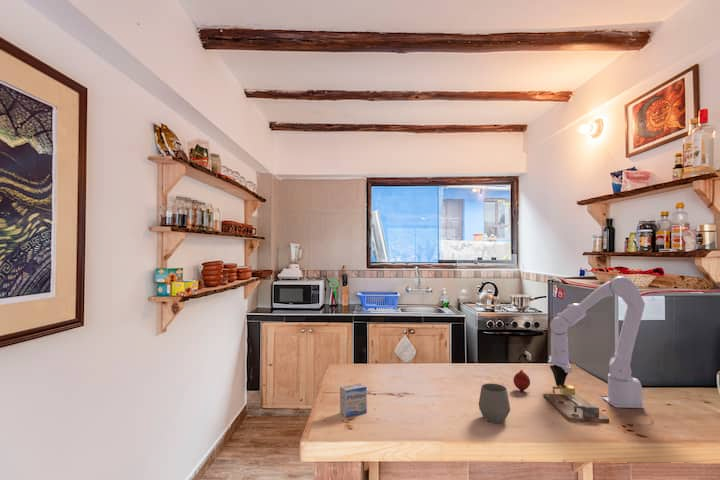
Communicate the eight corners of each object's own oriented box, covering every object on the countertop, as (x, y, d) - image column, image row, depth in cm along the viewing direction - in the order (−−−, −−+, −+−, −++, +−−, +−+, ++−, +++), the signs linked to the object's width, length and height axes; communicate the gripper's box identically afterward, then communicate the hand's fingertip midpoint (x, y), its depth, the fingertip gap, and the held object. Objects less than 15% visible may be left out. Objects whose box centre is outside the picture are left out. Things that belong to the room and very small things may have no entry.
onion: (531, 394, 143) (531, 372, 143) (515, 393, 144) (515, 371, 145) (528, 388, 149) (528, 367, 149) (512, 387, 150) (512, 366, 150)
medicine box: (345, 418, 124) (345, 390, 124) (339, 412, 128) (339, 386, 128) (367, 413, 128) (367, 386, 128) (360, 408, 132) (360, 382, 132)
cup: (506, 428, 116) (506, 395, 117) (475, 421, 121) (475, 389, 122) (512, 417, 124) (512, 385, 125) (483, 410, 129) (482, 380, 130)
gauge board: (577, 397, 140) (577, 386, 141) (609, 422, 120) (609, 409, 121) (543, 396, 141) (543, 385, 141) (569, 421, 121) (569, 408, 121)
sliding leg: (571, 392, 140) (570, 385, 140) (575, 395, 137) (575, 388, 137) (550, 391, 141) (550, 384, 141) (554, 394, 138) (554, 387, 138)
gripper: (540, 344, 152) (541, 379, 152) (556, 354, 138) (557, 393, 138) (559, 344, 152) (559, 379, 152) (577, 355, 137) (577, 393, 137)
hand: (559, 386), depth 145 cm, fingers closed
